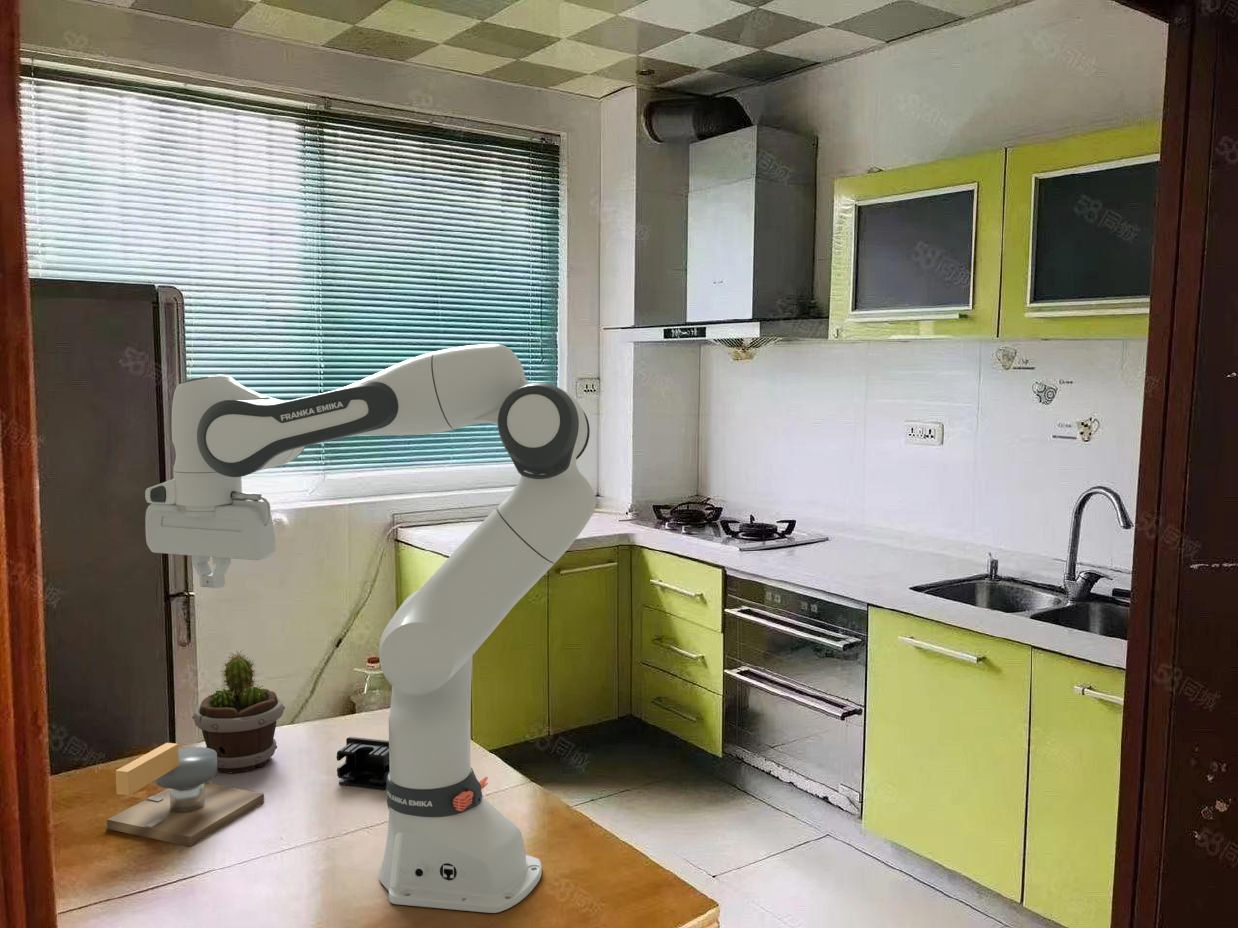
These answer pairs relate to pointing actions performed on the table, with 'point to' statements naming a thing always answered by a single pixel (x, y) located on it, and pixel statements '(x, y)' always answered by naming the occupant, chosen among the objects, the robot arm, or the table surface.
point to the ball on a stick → (168, 769)
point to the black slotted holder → (364, 763)
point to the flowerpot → (240, 719)
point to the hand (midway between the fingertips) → (212, 586)
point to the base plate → (185, 815)
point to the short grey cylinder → (187, 799)
